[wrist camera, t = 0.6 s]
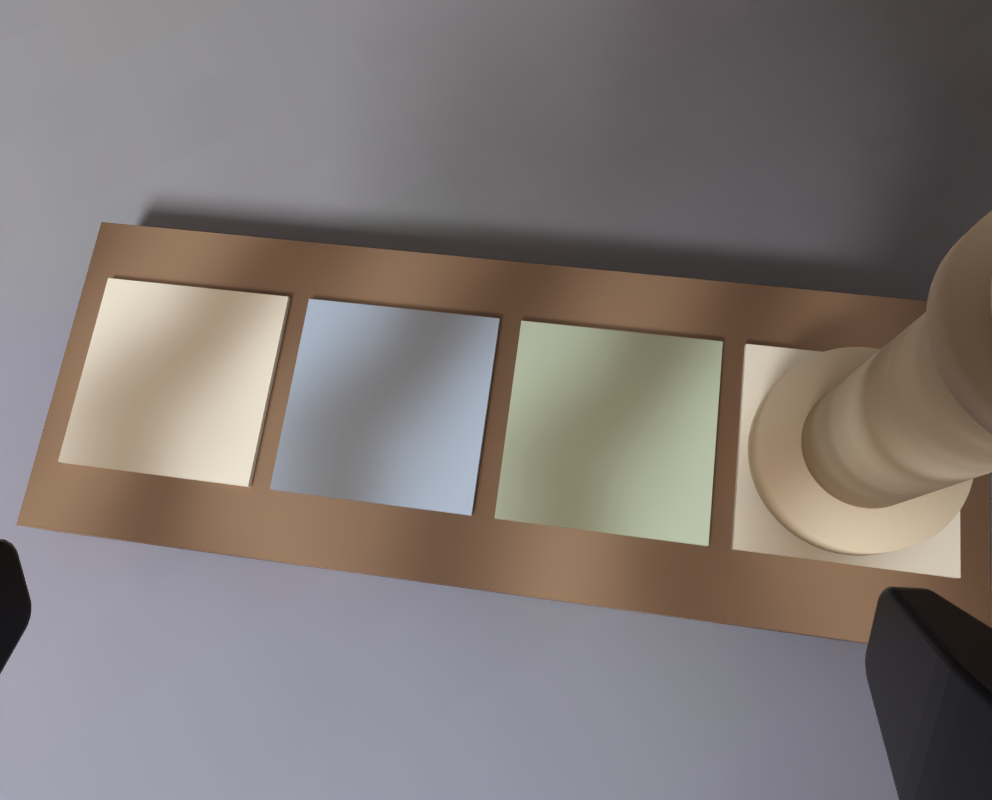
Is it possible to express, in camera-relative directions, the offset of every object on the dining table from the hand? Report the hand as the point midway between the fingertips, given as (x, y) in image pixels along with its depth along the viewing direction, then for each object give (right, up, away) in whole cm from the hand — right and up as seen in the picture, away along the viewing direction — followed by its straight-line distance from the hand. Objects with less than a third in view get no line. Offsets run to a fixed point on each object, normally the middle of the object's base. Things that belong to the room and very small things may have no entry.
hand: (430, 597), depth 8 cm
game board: (+1, +1, +15) cm, 15 cm away
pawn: (+10, +1, +12) cm, 16 cm away
